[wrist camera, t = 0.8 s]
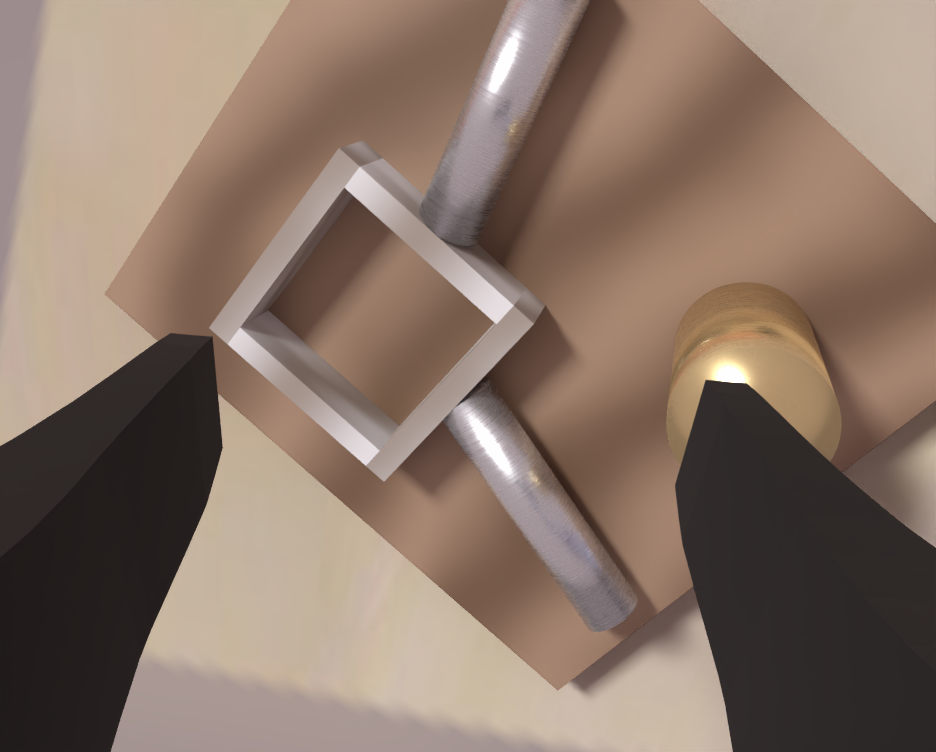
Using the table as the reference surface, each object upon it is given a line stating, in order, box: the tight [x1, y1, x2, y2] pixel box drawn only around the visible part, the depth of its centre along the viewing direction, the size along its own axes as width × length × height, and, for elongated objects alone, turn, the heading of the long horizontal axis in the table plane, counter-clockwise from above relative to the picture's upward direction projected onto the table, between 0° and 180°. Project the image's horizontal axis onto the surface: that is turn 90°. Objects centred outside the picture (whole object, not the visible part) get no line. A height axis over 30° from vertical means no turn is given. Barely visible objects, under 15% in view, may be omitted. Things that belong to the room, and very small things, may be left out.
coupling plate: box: [105, 0, 936, 690], centre depth 28 cm, size 22×20×4 cm
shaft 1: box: [419, 0, 590, 247], centre depth 25 cm, size 8×2×2 cm, turn 155°
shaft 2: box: [442, 378, 638, 632], centre depth 29 cm, size 9×2×2 cm, turn 35°
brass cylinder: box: [666, 282, 841, 466], centre depth 24 cm, size 4×4×6 cm
